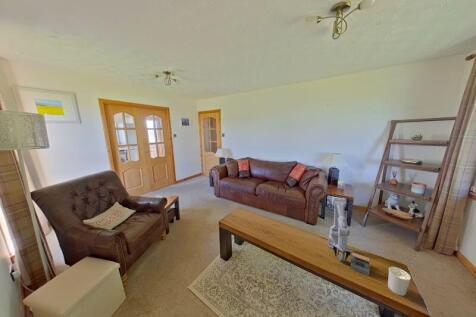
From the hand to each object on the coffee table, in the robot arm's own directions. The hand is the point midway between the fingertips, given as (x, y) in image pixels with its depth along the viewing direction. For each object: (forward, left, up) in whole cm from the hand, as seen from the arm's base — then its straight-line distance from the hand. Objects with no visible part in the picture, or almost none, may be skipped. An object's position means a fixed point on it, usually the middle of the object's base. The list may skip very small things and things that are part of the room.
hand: (340, 257), depth 126 cm
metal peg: (0, 0, -2) cm, 2 cm away
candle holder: (+31, -6, -3) cm, 32 cm away
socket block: (+12, +2, -2) cm, 12 cm away
